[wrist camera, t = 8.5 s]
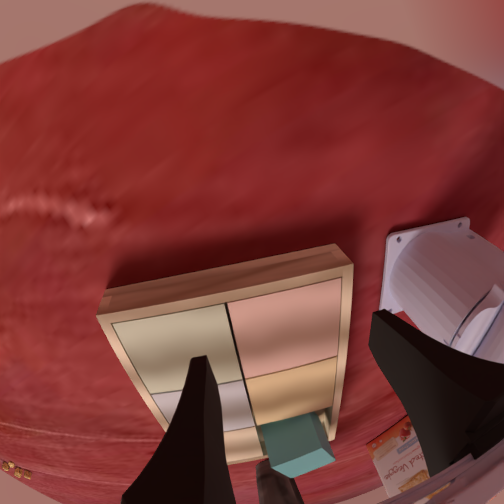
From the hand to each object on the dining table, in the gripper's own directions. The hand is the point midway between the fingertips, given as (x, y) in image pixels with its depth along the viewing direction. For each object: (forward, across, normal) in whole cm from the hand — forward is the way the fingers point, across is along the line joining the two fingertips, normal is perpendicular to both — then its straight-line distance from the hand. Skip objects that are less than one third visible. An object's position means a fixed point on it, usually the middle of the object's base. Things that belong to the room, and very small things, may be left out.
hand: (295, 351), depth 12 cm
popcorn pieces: (+10, +50, +34) cm, 61 cm away
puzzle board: (+9, +3, +13) cm, 16 cm away
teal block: (+8, -1, +20) cm, 22 cm away
